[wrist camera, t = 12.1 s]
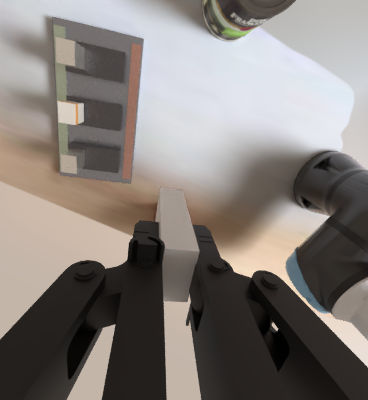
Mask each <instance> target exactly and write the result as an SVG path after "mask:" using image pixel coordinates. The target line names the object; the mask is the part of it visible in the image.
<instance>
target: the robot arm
mask: <svg viewBox="0 0 368 400" xmlns="http://www.w3.org/2000/svg"><path fill="white" fill-rule="evenodd" d="M294 194H295V198H296V200H297V201H298V203H299V204H300V205H302V206H303V207H304V208H306V209H307V210H309V211H311V212H315V213H319V214H323V215H327V216H330V217H329V218H328V219H327V220H326V221H325V222H324V223H323V224H322V225H321V226H320V227H319V228H318V229H317V230H316V231H315V232H314V233H313V234H312V235H311V236H309V237H308V238H307V239H306V240H305V241H304V242H303V243H302V244H301V245H300V246H299V247H297V248H296V249H295V251H294V252H293V254H292V255H291V256H290V257H289V258H288V259H287V261H286V271H287V274H288V276H289V278H290V280H291V281H292V283H293V285H294V286H295V287H296V289H297V290H298V292H299V293H300V294H301V295H302V296H303V297H304V298H306V300H307V301H308V303H309V304H310V305H311V306H312V307H314V308H315V309H316V310H317V311H319V312H321V313H325V314H326V313H331V314H332V315H333V316H334V317H335V318H336V319H339V320H343V321H348V322H350V323H352V324H353V325H354V326H355V327H356V328H357V329H358V330H359V331H360V333H361V334H362V335H363V336H364V337H365V338H366V339H367V340H368V171H367V170H366V169H365V168H363V167H362V166H361V165H360V164H359V163H358V162H357V161H356V160H355V159H353V158H352V157H350V156H349V155H346V154H343V153H340V152H334V151H331V152H325V153H322V154H319V155H317V156H315V157H314V158H312V159H311V160H310V161H308V162H307V163H306V164H305V165H304V167H303V168H302V169H301V170H300V172H299V174H298V176H297V178H296V181H295V185H294ZM189 293H190V299H191V304H190V308H189V312H188V316H187V320H186V326H188V325H189V321H190V323H191V330H192V337H193V344H194V351H195V358H196V365H197V372H198V379H199V386H200V393H201V400H368V368H367V366H366V365H365V364H364V363H363V362H362V361H361V360H360V359H359V358H358V357H357V356H356V355H355V354H354V353H353V352H352V351H351V350H350V349H349V348H348V347H347V346H346V345H345V344H344V343H343V342H342V341H341V340H340V339H339V338H338V337H337V335H336V334H335V333H334V332H332V330H331V329H330V328H329V327H328V326H327V325H326V324H325V323H324V322H323V321H322V320H321V319H320V318H319V317H318V316H317V315H316V314H315V313H314V312H313V311H312V310H311V309H310V308H309V307H308V306H307V305H306V304H305V303H304V302H303V301H302V300H301V299H300V298H299V296H298V295H297V294H296V293H295V292H294V291H293V290H292V289H291V288H290V287H289V286H288V285H287V284H286V283H285V282H284V281H283V280H282V279H281V278H279V277H278V276H277V275H275V274H273V273H271V272H268V271H256V272H255V273H254V274H253V276H252V278H250V277H247V276H243V275H240V274H237V273H235V272H234V271H233V269H232V267H231V266H230V264H229V263H228V262H226V261H225V260H223V259H221V257H220V255H219V252H218V250H217V247H216V245H215V243H214V240H213V238H212V234H211V232H210V231H209V230H208V229H207V228H206V227H205V226H200V225H192V222H191V218H190V215H189V211H188V208H187V204H186V200H185V197H184V193H183V190H181V189H172V188H164V187H160V190H159V198H158V205H157V212H156V220H155V222H151V221H139V222H138V223H137V224H136V225H135V229H134V234H133V238H132V239H131V240H130V242H129V249H128V260H127V261H126V262H125V263H123V264H122V265H119V266H117V267H113V268H107V269H105V267H104V266H103V265H102V264H101V263H99V262H96V261H90V260H86V261H80V262H77V263H75V264H72V265H71V266H70V267H68V268H67V269H66V270H65V271H64V272H63V273H62V274H61V275H60V276H59V277H58V279H57V280H56V281H55V282H54V283H53V284H52V285H51V286H50V287H49V288H48V289H47V290H46V291H45V292H44V294H43V295H42V296H41V297H40V298H39V299H38V300H37V301H36V302H35V303H34V304H33V305H32V307H30V309H28V311H27V312H26V313H25V314H24V315H23V316H22V317H21V318H20V319H19V320H18V321H17V322H16V324H14V325H13V327H12V328H11V329H10V330H9V331H8V332H7V333H6V334H5V335H4V336H3V337H2V338H1V339H0V400H67V398H68V396H69V394H70V392H71V390H72V388H73V386H74V384H75V382H76V380H77V378H78V376H79V374H80V372H81V370H82V368H83V366H84V364H85V363H86V360H87V359H88V356H89V355H90V353H91V351H92V349H93V347H94V345H95V343H96V341H97V339H98V337H99V335H100V333H101V331H102V328H103V327H107V326H111V325H114V324H116V326H115V331H114V336H113V342H112V347H111V353H110V358H109V364H108V369H107V375H106V380H105V385H104V391H103V396H102V400H166V367H165V337H164V305H163V304H164V303H163V301H176V302H177V301H178V302H187V301H188V297H189ZM273 322H274V323H275V325H276V326H277V328H278V331H276V330H275V329H274V328H273V327H272V323H273Z"/></svg>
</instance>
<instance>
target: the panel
mask: <svg viewBox="0 0 368 400" xmlns="http://www.w3.org/2000/svg"><path fill="white" fill-rule="evenodd" d="M52 22H53V43H54V64H55V85H56V106H57V127H58V147H59V168H60V175H63V176H71V177H79V178H88V179H96V180H104V181H113V182H121V183H130V184H131V180H132V168H133V157H134V146H135V134H136V123H137V112H138V101H139V89H140V78H141V67H142V55H143V44H144V39H142V38H138V37H134V36H130V35H126V34H121V33H117V32H113V31H109V30H105V29H101V28H97V27H93V26H89V25H84V24H80V23H76V22H72V21H68V20H64V19H60V18H56V17H52ZM57 101H74V102H79V103H84V122H82V123H79V124H78V125H72V124H66V123H59V122H58V102H57Z"/></svg>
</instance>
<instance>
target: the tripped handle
mask: <svg viewBox="0 0 368 400" xmlns="http://www.w3.org/2000/svg"><path fill="white" fill-rule="evenodd" d="M57 102H58V122H59V123H66V124H72V125H78V124H79V123H82V122H84V103H79V102H74V101H57Z"/></svg>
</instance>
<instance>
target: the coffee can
mask: <svg viewBox="0 0 368 400" xmlns="http://www.w3.org/2000/svg"><path fill="white" fill-rule="evenodd" d="M295 1H296V0H202V11H203V17H204V20H205V23H206V25H207V27H208V29H209V30H210V32H211V33H212V34H213V35H214V36H216V37H217V38H218V39H221V40H223V41H230V42H231V41H236V40H239V39H241V38H243V37H244V36H245V35H247V34H248V33H249V32H251V31H252V30H254V29H255V28H257V27H258V26H260V25H261V24H263V23H264V22H266V21H267V20H269V19H270V18H272V17H274V16H275V15H278V14H279V13H281V12H283V11H284V10H286V9H287V8H288V7H289V6H291V5H292V4H293V3H294V2H295Z"/></svg>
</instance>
